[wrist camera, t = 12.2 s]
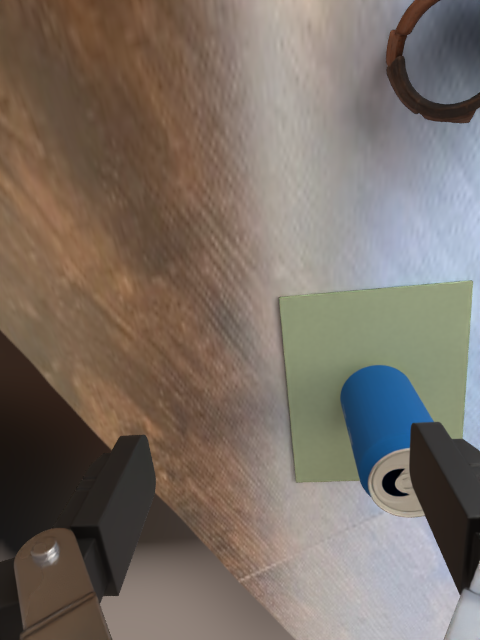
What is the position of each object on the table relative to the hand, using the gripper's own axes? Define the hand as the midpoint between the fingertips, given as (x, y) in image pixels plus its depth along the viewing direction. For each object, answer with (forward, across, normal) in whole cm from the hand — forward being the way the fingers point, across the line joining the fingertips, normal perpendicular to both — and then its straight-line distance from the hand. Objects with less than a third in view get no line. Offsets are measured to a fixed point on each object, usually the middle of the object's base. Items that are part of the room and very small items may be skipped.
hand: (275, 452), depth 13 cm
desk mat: (+25, -8, +13) cm, 29 cm away
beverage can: (+24, -8, +12) cm, 29 cm away
